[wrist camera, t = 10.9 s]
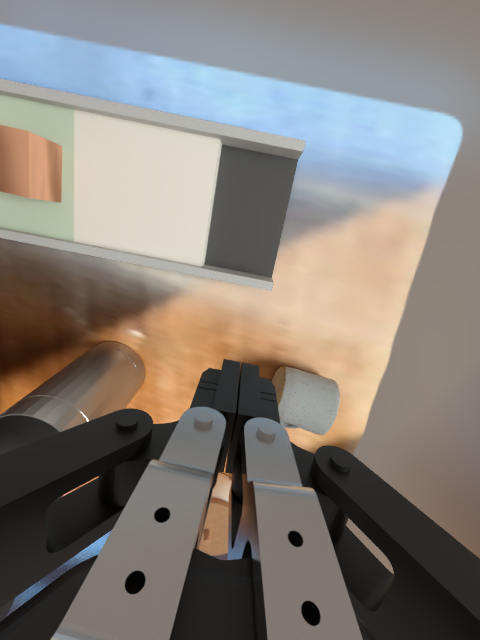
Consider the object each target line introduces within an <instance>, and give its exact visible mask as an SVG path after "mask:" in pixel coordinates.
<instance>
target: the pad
mask: <svg viewBox="0 0 480 640" xmlns="http://www.w3.org/2000/svg"><path fill="white" fill-rule="evenodd" d="M0 125H4V126H8V127H13V128H17V129H21V130H26V131H29V132H31V133H34V134H36V135H38V136H41V137H43V138H45V139H47V140H50V141H52V142H54V143H56V144H59V145H61V146H62V195H61V203H60V202H53V201H46V200H39V199H32V198H27V197H22V196H18V195H14V194H9V193H5V192H0V227H1V228H7V229H12V230H17V231H22V232H27V233H32V234H37V235H43V236H48V237H53V238H58V239H63V240H68V241H73V242H74V109H70V108H65V107H60V106H55V105H50V104H45V103H40V102H35V101H30V100H25V99H20V98H15V97H10V96H5V95H0Z"/></svg>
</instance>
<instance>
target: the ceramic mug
mask: <svg viewBox="0 0 480 640" xmlns="http://www.w3.org/2000/svg"><path fill="white" fill-rule="evenodd" d="M271 382H272V383H273V385H274V386H275V389H276V396H277V403H278V410H279V417H280V425H282V426H283V427H285V428H302V429H305V430H307V431H310V432H313V433H315V434H318V435H324V434H325V433H327V432H328V431H329V430H330V428H331V427H332V425H333V423H334V421H335V418H336V416H337V412H338V409H339V400H340V393H339V388H338V384H337V383H336V382H335V381H334V380H332V379H328V378H325V377H322V376H319V375H315V374H312V373H308V372H305V371H302V370H299V369H295V368H291V367H280V368H279V369H278V370H277V371H276V372H275V374H274V376H273V379H272V381H271Z"/></svg>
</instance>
